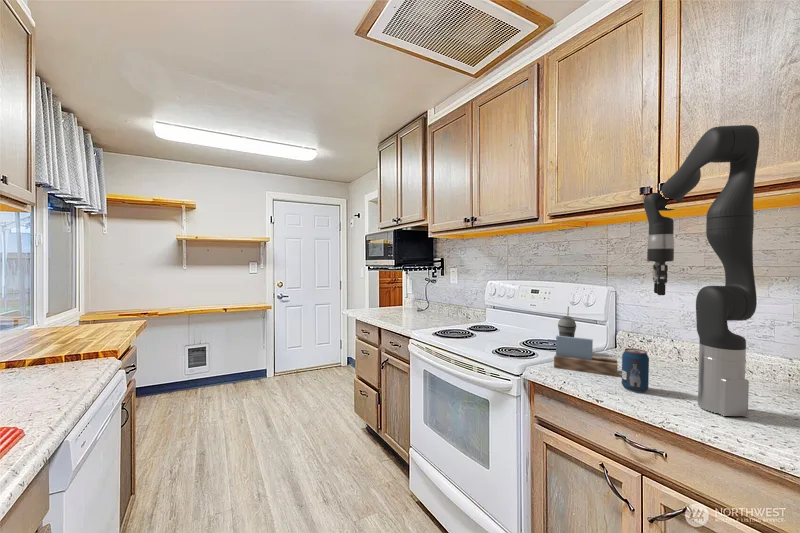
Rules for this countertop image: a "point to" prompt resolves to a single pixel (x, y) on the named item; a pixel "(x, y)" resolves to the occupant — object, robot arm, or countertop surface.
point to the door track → (587, 365)
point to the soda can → (635, 370)
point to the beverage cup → (567, 326)
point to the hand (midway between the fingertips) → (659, 294)
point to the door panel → (574, 347)
